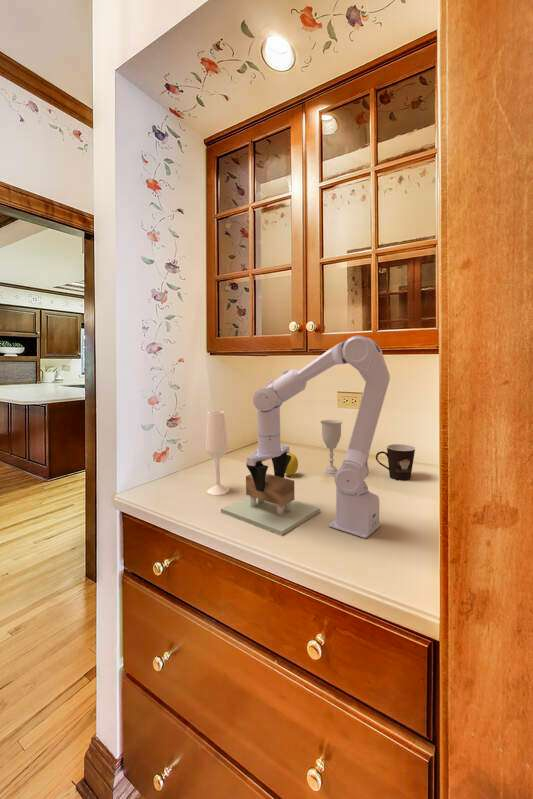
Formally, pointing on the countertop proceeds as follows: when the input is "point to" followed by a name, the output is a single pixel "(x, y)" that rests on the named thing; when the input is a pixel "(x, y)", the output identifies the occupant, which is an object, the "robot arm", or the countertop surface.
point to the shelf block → (272, 489)
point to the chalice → (331, 441)
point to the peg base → (271, 513)
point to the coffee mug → (399, 461)
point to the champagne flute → (216, 445)
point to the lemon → (292, 465)
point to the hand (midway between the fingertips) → (269, 486)
